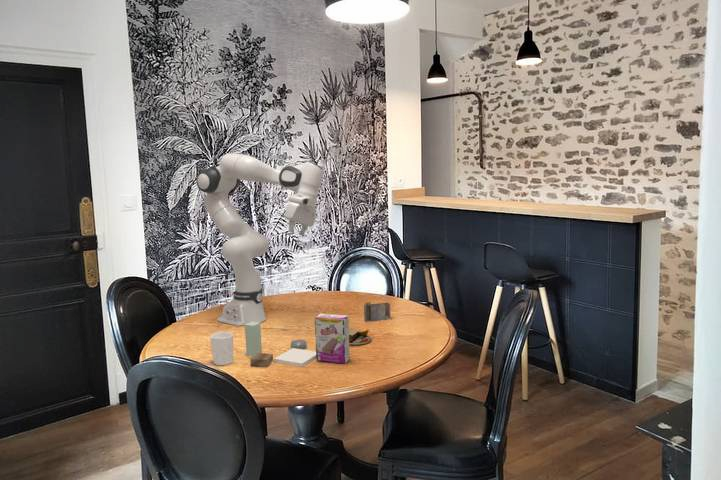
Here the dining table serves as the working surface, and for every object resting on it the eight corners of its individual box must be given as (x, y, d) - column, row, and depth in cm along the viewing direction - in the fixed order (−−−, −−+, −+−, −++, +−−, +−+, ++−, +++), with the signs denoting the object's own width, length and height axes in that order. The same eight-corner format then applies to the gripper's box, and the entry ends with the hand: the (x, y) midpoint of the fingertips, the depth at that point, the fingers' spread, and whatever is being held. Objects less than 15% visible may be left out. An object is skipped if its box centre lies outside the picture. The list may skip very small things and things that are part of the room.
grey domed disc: (287, 349, 201) (287, 343, 200) (296, 344, 206) (296, 338, 206) (301, 351, 198) (300, 345, 198) (309, 346, 203) (309, 340, 203)
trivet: (274, 361, 188) (273, 358, 188) (292, 351, 199) (292, 347, 198) (302, 366, 183) (302, 363, 182) (320, 355, 193) (320, 352, 193)
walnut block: (250, 367, 184) (250, 359, 184) (257, 361, 190) (256, 353, 190) (267, 368, 183) (266, 359, 183) (273, 361, 189) (272, 353, 189)
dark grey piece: (366, 323, 232) (365, 301, 231) (364, 321, 235) (363, 300, 234) (390, 321, 235) (390, 299, 234) (388, 319, 238) (388, 298, 237)
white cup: (214, 358, 193) (212, 332, 191) (236, 357, 193) (234, 331, 192) (210, 366, 185) (208, 339, 184) (233, 365, 186) (231, 338, 184)
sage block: (246, 356, 195) (244, 324, 193) (253, 352, 198) (251, 321, 196) (255, 357, 193) (253, 325, 191) (262, 354, 196) (260, 322, 195)
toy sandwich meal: (361, 348, 200) (361, 336, 199) (331, 343, 206) (330, 332, 206) (376, 338, 211) (376, 327, 210) (347, 334, 217) (347, 323, 216)
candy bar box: (315, 361, 187) (313, 316, 185) (321, 356, 192) (319, 312, 189) (345, 364, 183) (343, 319, 181) (350, 359, 188) (348, 315, 186)
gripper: (309, 204, 227) (300, 235, 227) (287, 195, 208) (277, 228, 208) (322, 207, 225) (313, 238, 225) (300, 198, 206) (291, 232, 206)
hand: (296, 234), depth 216 cm, fingers open, 8 cm apart
